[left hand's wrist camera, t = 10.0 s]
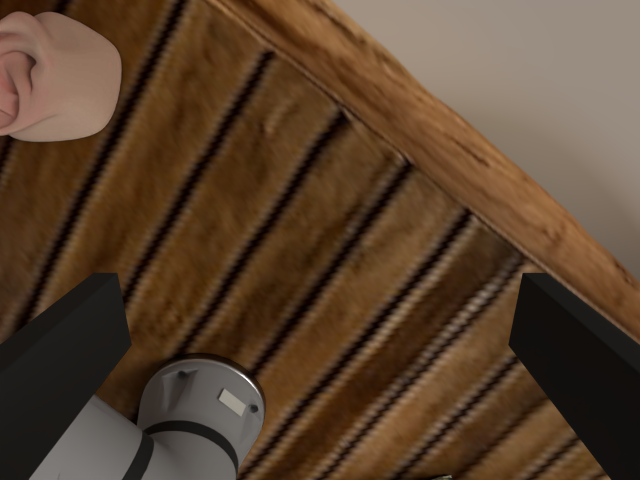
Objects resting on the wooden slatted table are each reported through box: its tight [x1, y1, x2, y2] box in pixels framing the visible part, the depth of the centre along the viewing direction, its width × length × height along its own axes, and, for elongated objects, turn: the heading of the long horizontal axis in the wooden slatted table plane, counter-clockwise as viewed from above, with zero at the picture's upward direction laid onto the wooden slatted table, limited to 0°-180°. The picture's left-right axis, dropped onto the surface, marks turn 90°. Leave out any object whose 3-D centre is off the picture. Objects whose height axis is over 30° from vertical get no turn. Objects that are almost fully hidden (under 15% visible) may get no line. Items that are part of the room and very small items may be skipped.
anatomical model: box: [0, 12, 122, 142], centre depth 34 cm, size 13×4×12 cm
